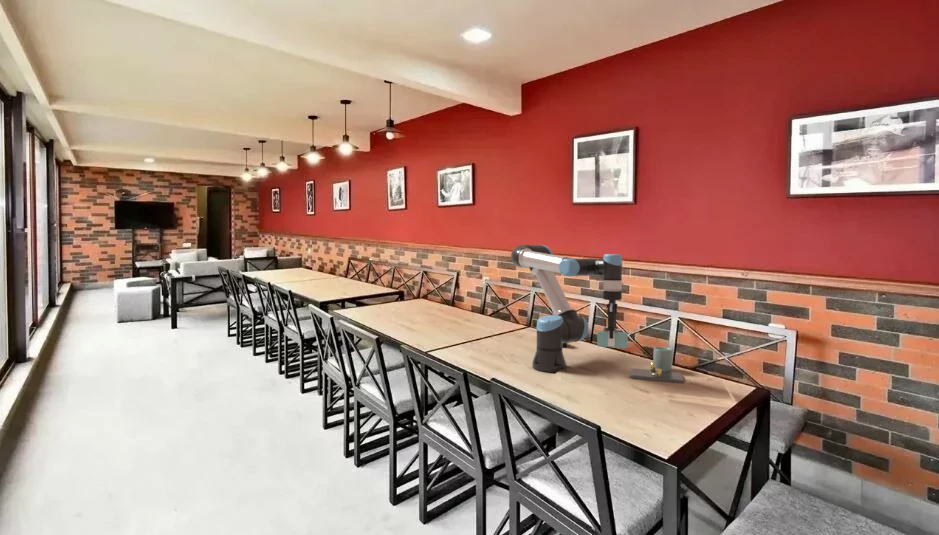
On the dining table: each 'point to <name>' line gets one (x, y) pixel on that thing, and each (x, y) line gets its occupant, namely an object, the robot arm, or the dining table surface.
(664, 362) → the cup
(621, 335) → the teal rectangular block
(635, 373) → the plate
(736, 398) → the dining table surface
